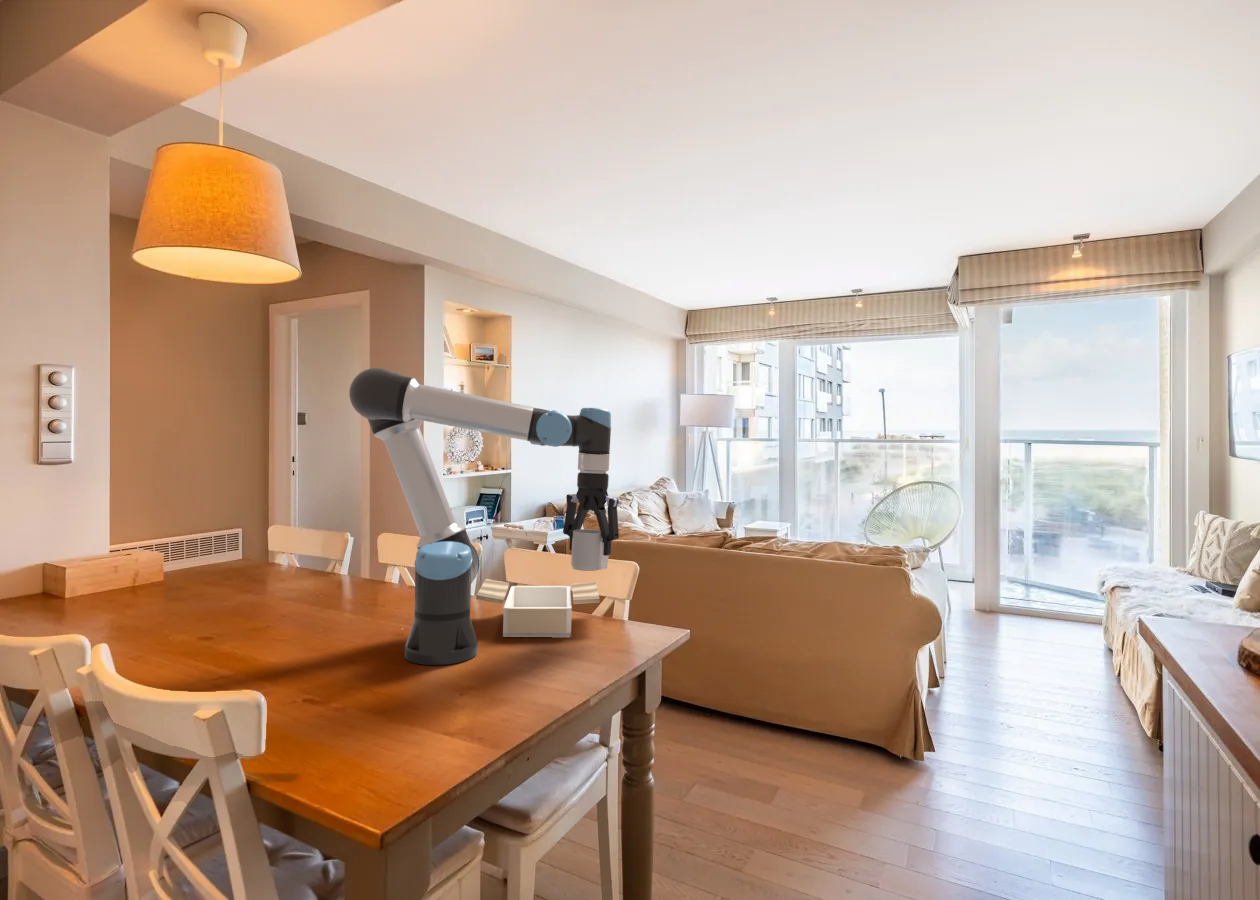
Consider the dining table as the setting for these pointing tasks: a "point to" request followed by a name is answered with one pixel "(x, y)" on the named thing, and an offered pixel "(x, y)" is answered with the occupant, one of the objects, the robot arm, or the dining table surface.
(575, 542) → the cup
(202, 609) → the dining table surface
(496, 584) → the flap
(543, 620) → the carton
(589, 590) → the flap
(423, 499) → the robot arm
